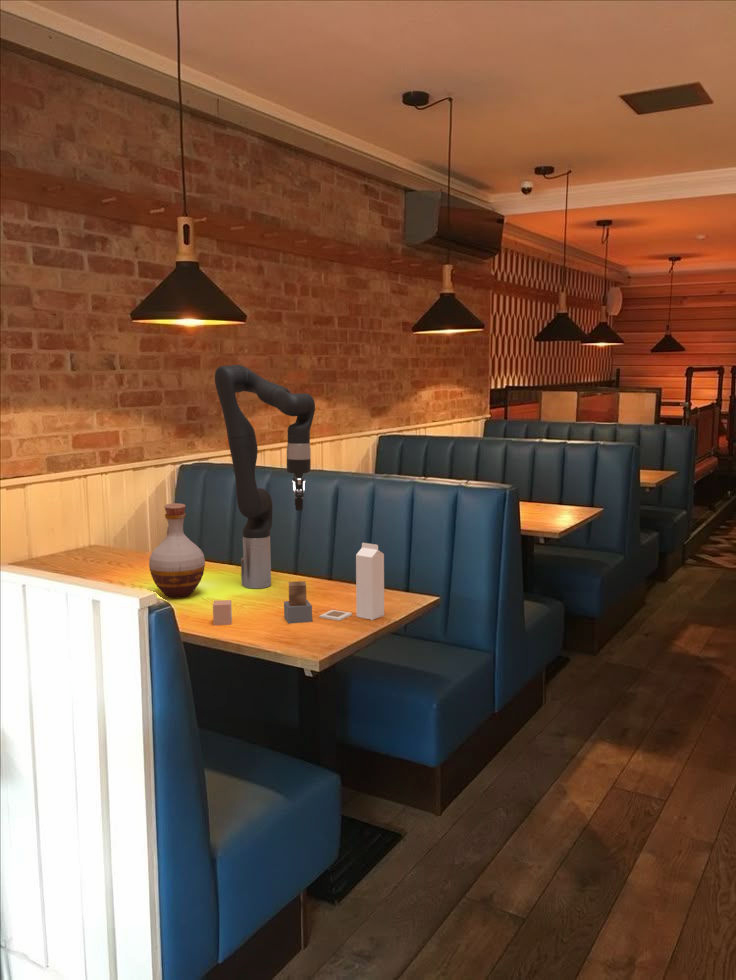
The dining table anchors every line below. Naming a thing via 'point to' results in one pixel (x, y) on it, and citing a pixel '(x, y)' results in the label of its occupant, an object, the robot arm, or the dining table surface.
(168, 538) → the jug
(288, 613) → the charcoal block
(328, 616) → the tile
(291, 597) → the walnut block
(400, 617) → the dining table surface
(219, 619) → the terracotta block
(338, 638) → the dining table surface
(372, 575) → the milk
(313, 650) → the dining table surface
